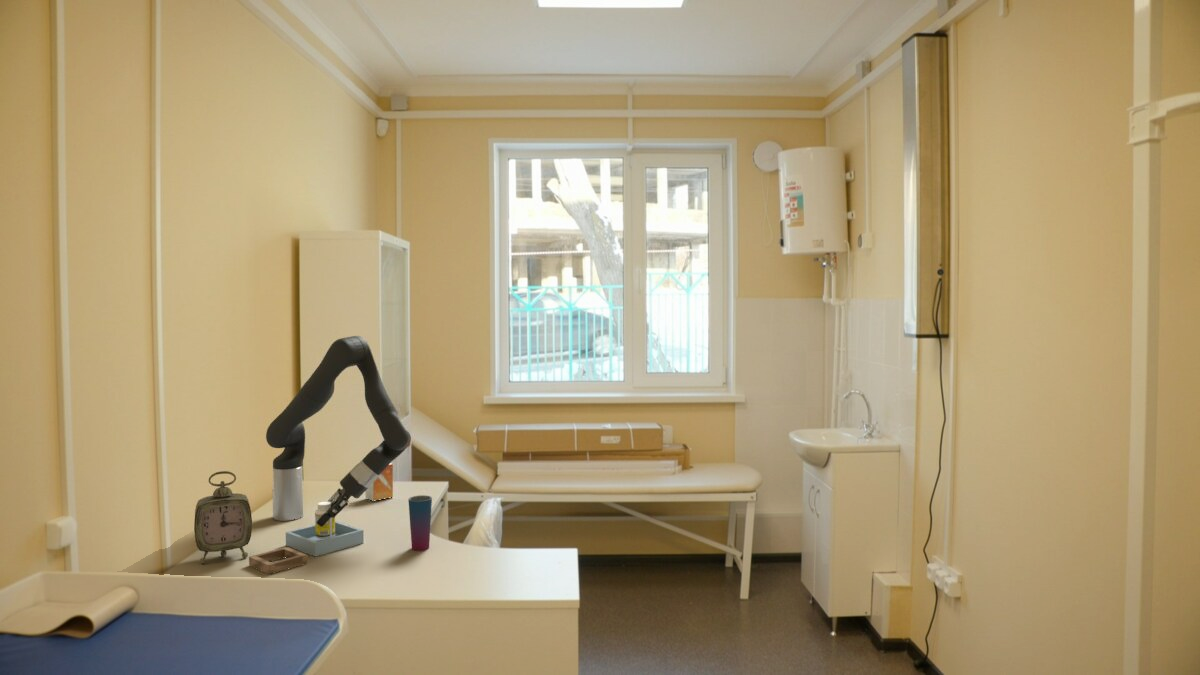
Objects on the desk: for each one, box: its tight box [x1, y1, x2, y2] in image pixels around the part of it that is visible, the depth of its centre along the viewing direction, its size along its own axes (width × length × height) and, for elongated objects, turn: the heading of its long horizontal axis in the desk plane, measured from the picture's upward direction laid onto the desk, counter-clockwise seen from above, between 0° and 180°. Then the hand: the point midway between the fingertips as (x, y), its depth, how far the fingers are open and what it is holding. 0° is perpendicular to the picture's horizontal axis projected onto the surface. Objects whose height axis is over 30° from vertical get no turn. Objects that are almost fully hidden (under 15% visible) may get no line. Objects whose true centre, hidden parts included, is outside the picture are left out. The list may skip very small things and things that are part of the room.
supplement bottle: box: [314, 501, 336, 539], centre depth 230 cm, size 6×6×10 cm
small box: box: [364, 462, 394, 501], centre depth 283 cm, size 8×6×13 cm
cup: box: [407, 494, 433, 552], centre depth 227 cm, size 7×7×15 cm
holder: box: [248, 546, 308, 575], centre depth 213 cm, size 11×11×2 cm
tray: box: [285, 520, 364, 557], centre depth 231 cm, size 16×16×4 cm
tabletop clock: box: [193, 470, 253, 565], centre depth 217 cm, size 14×9×25 cm, turn 118°
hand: (318, 521), depth 230 cm, fingers closed on supplement bottle, 5 cm apart
